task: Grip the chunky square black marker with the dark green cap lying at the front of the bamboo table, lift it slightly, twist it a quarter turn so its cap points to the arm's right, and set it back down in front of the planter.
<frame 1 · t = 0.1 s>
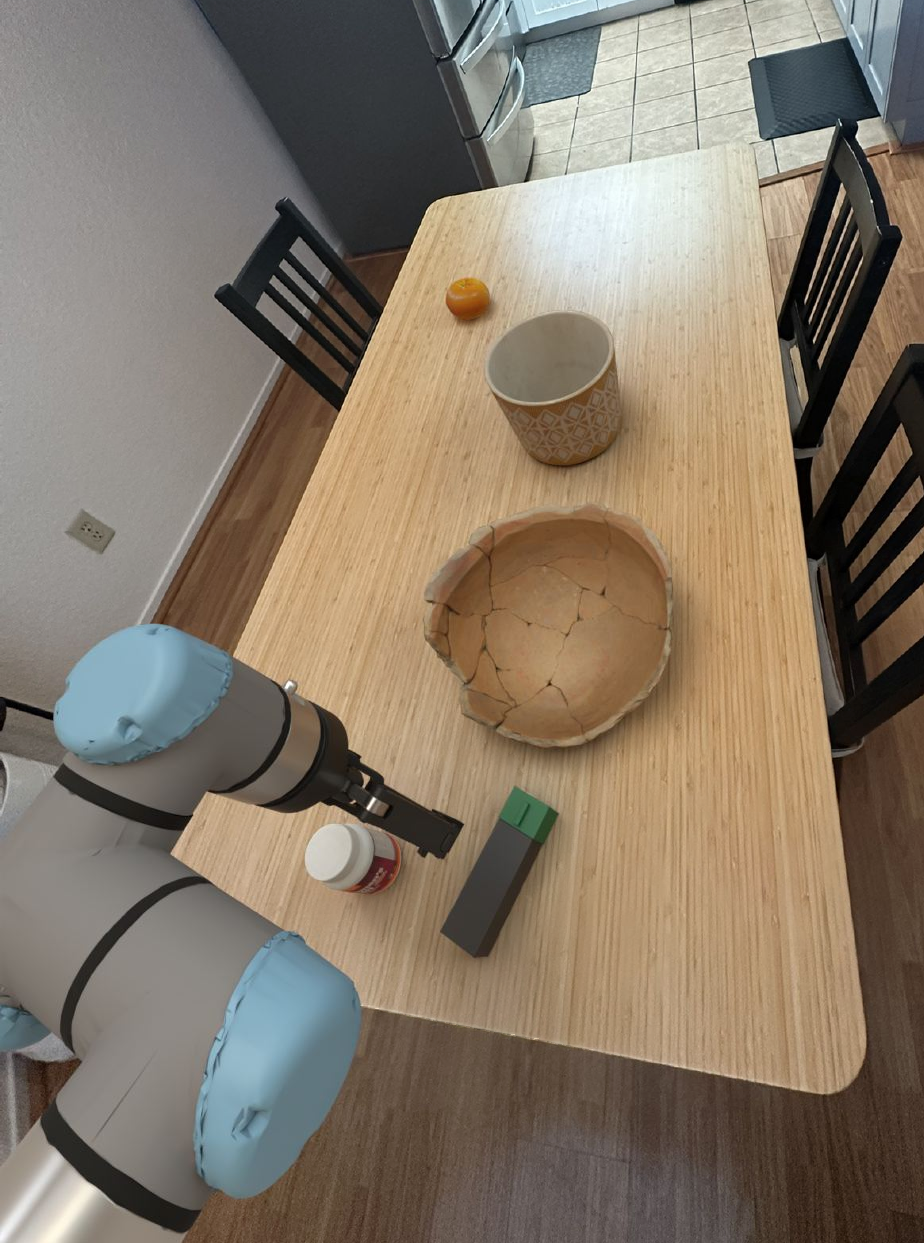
hand: (400, 800, 63), 14 cm above the table, tool pointing down, fingers open, 13 cm apart
pill bottle: (378, 863, 74), on the table
fruit: (473, 312, 129), on the table
ceramic bowl: (567, 638, 85), on the table
marker: (542, 803, 73), on the table
planter: (571, 428, 106), on the table
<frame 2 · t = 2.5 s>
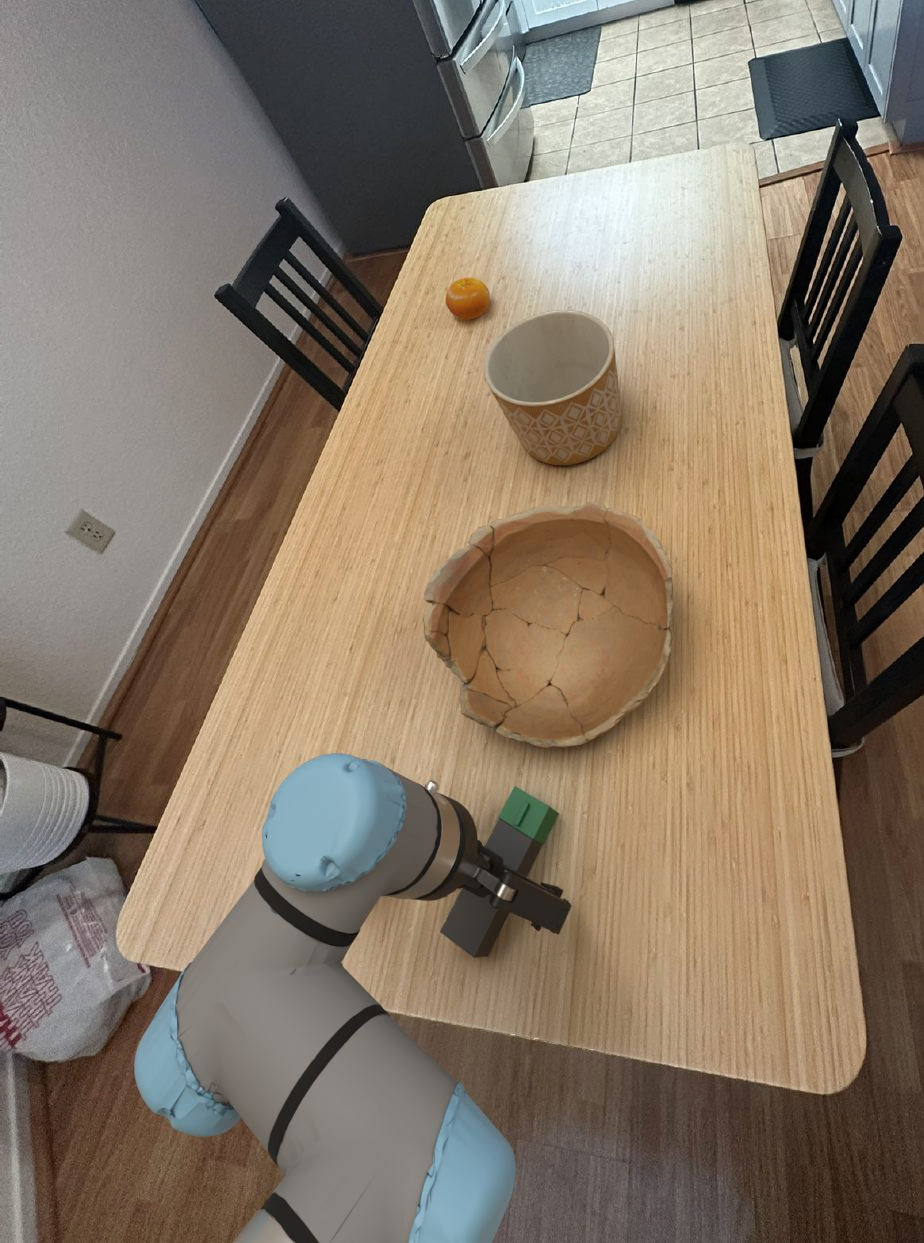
hand: (499, 865, 67), 4 cm above the table, tool pointing down, fingers open, 13 cm apart
nothing on the table moved.
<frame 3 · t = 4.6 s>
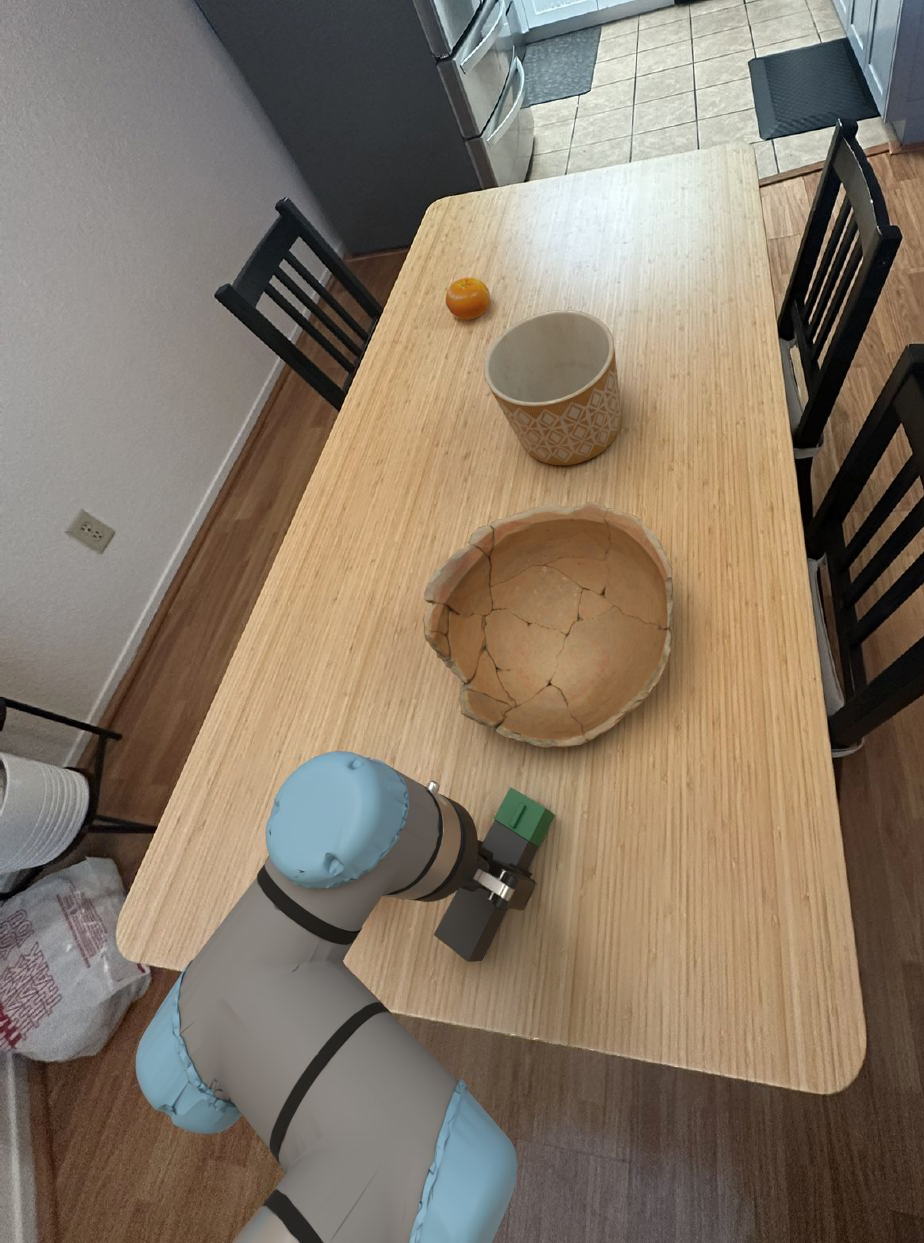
hand: (503, 871, 69), 1 cm above the table, tool pointing down, fingers closed on marker, 4 cm apart
marker: (538, 805, 72), point 1 cm above the table, touching gripper
everything else where it was.
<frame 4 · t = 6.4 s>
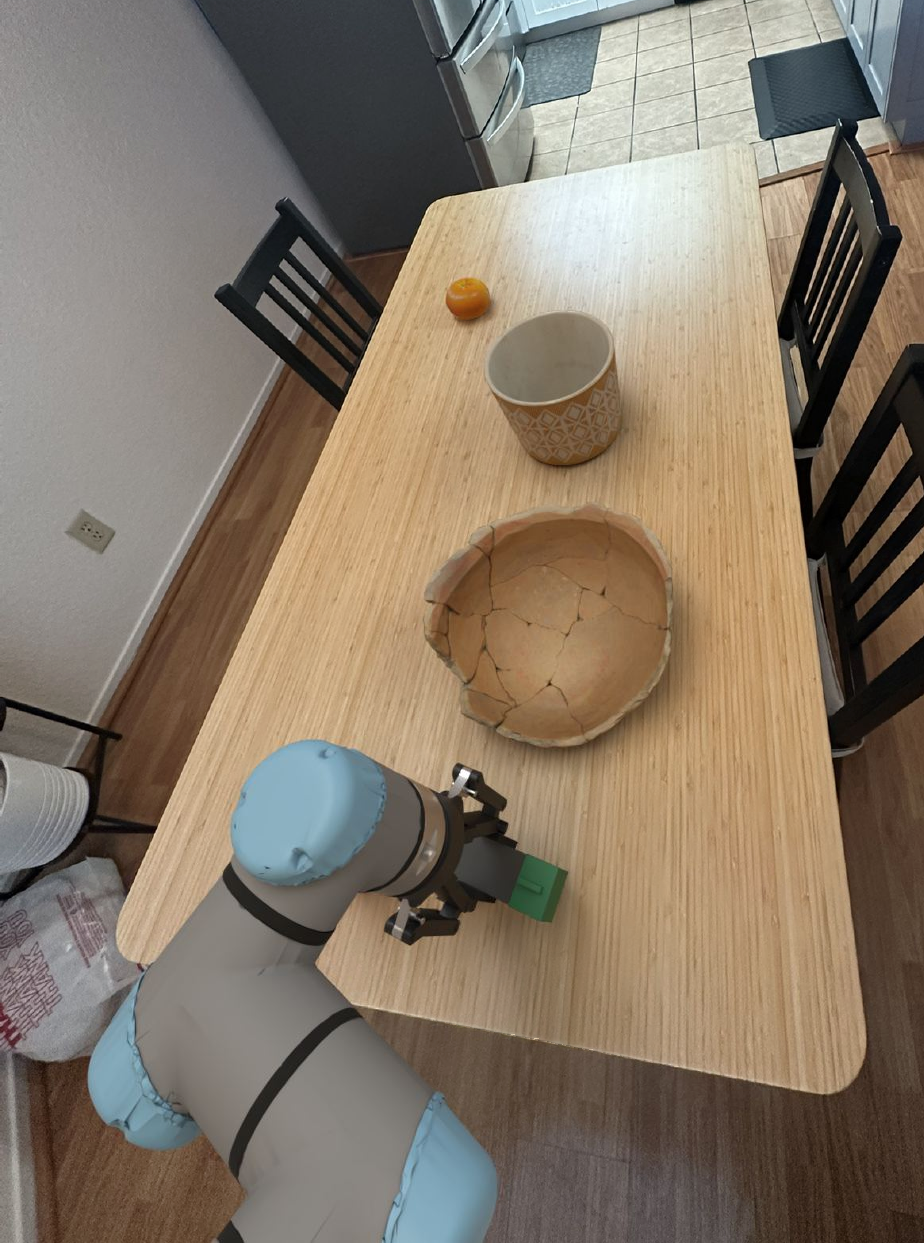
hand: (495, 866, 66), 5 cm above the table, tool pointing down, fingers closed on marker, 4 cm apart
marker: (560, 896, 64), point 4 cm above the table, touching gripper
everything else where it was.
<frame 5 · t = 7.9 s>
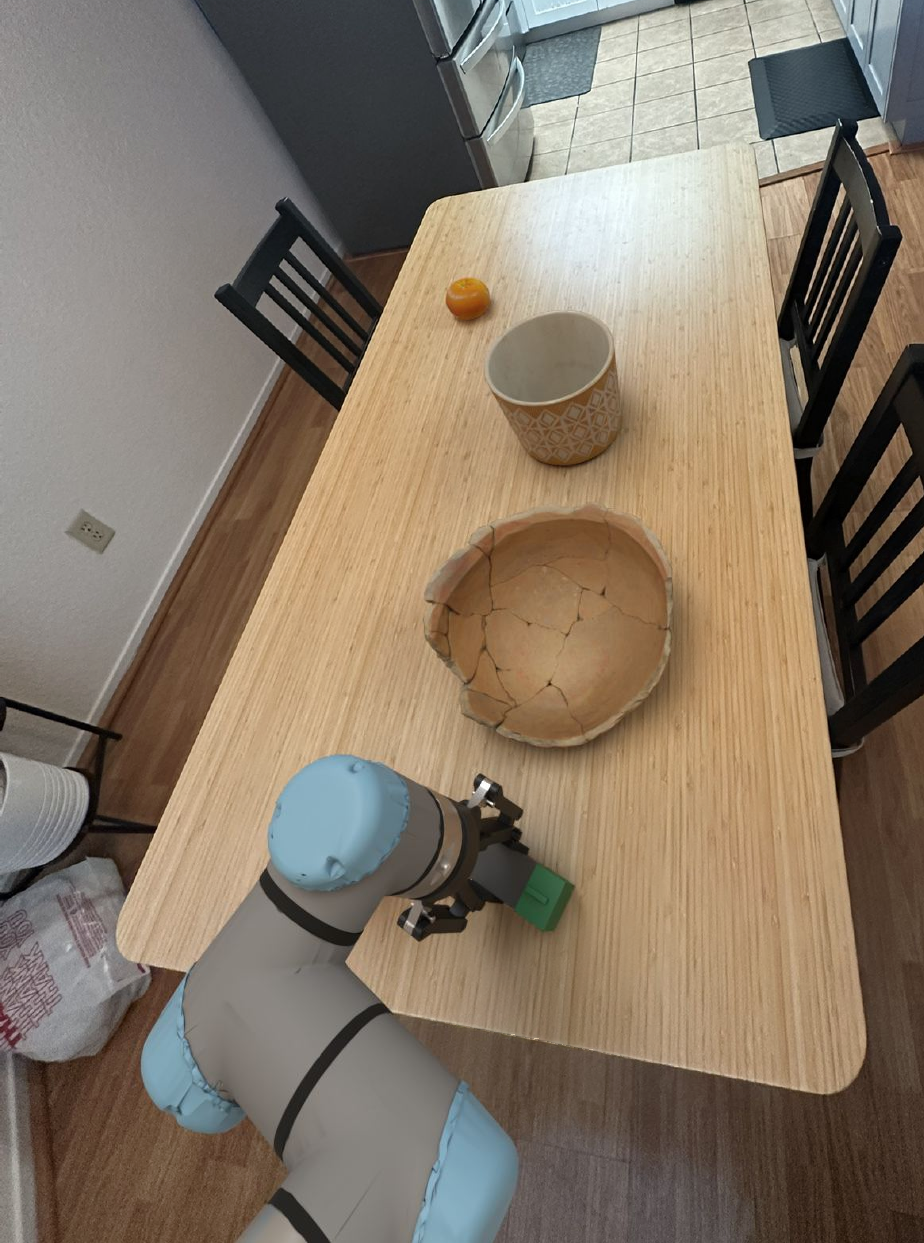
hand: (506, 868, 69), 1 cm above the table, tool pointing down, fingers closed on marker, 4 cm apart
marker: (564, 908, 67), point 1 cm above the table, touching gripper
everything else where it was.
when the fingers open (0 cm above the table, at t = 8.4 s): marker stays where it is, on the table.
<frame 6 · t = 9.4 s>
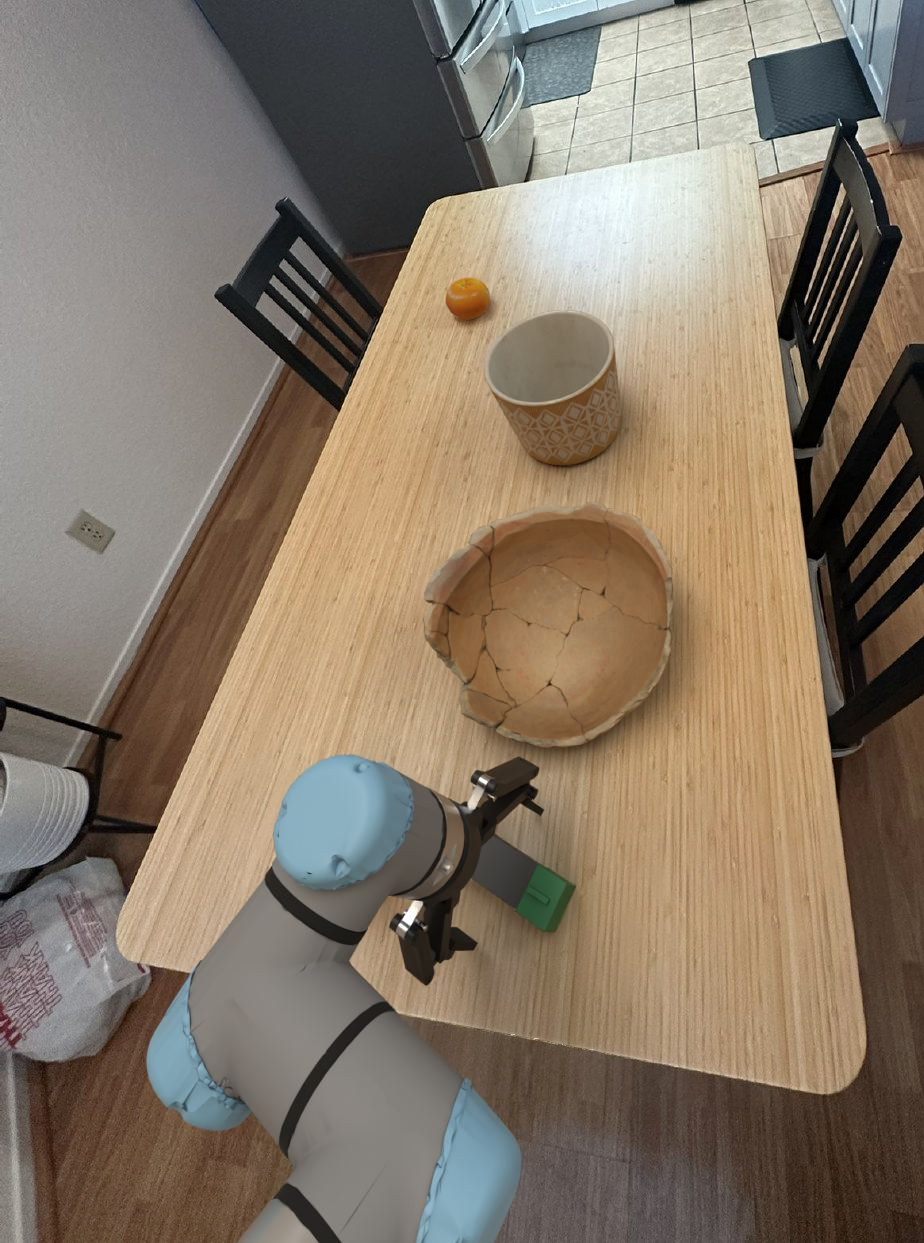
hand: (500, 869, 68), 3 cm above the table, tool pointing down, fingers open, 13 cm apart
marker: (565, 908, 67), on the table
everything else where it was.
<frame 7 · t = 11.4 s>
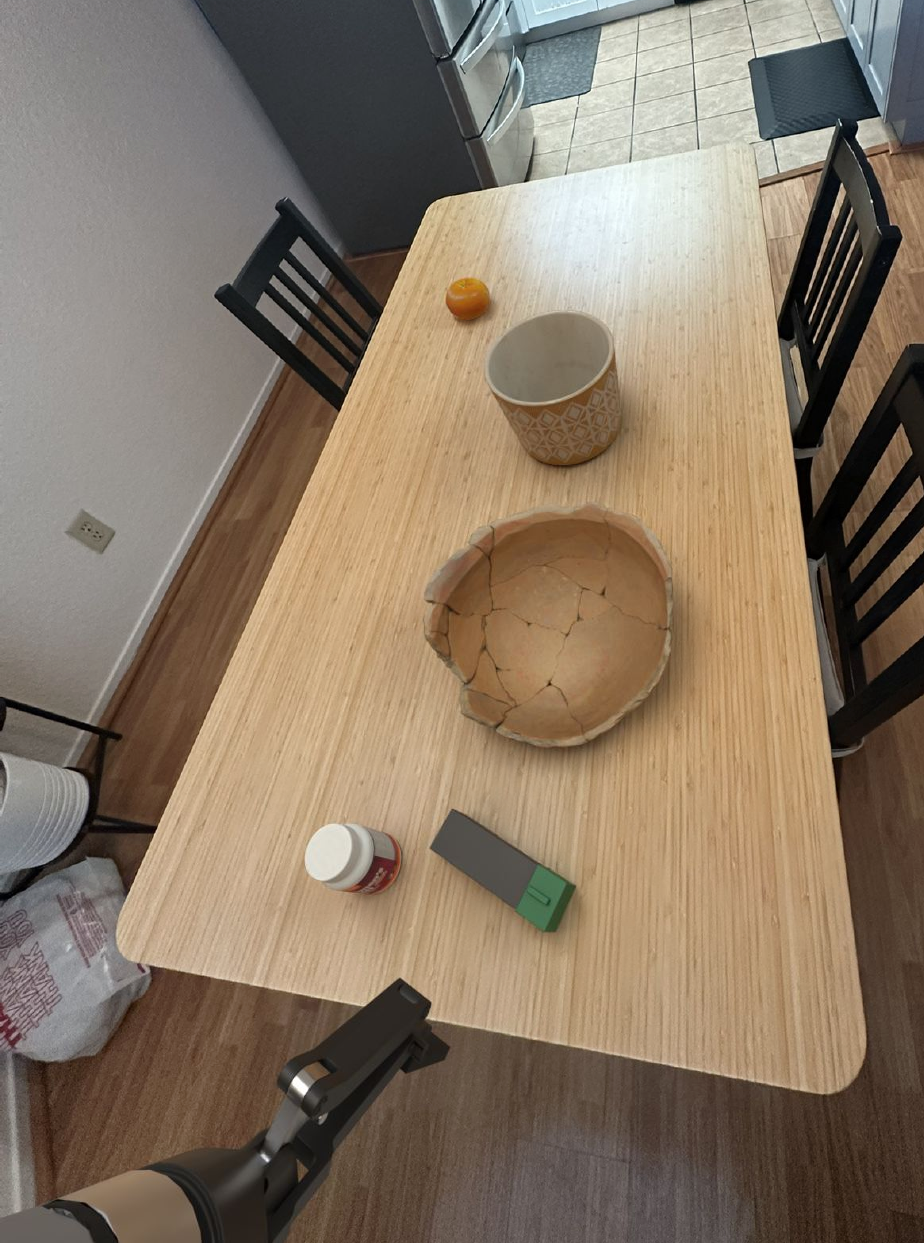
hand: (371, 1166, 40), 25 cm above the table, tool pointing down, fingers open, 13 cm apart
nothing on the table moved.
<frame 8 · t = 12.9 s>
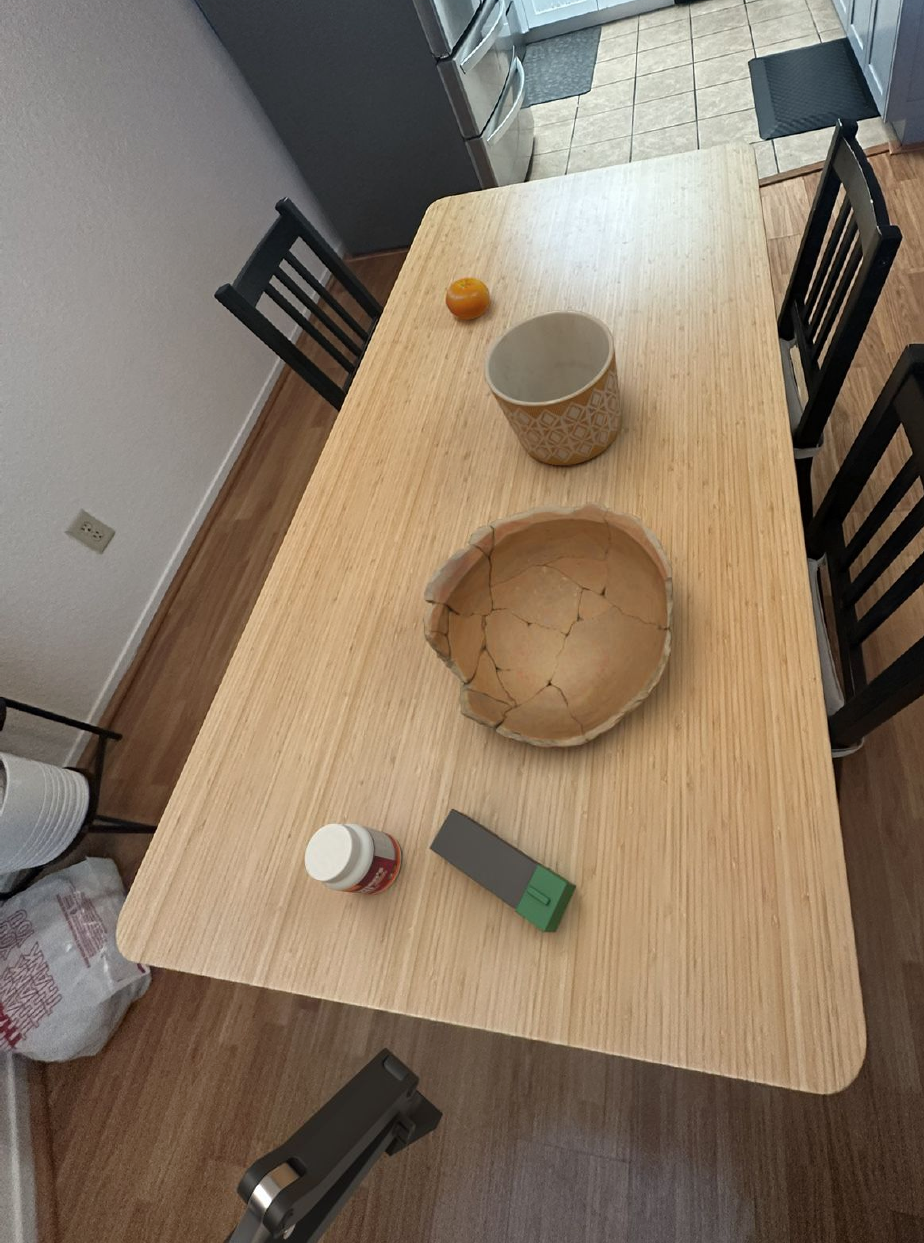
nothing on the table moved.
at the end: the gripper is holding nothing; marker on the table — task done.
